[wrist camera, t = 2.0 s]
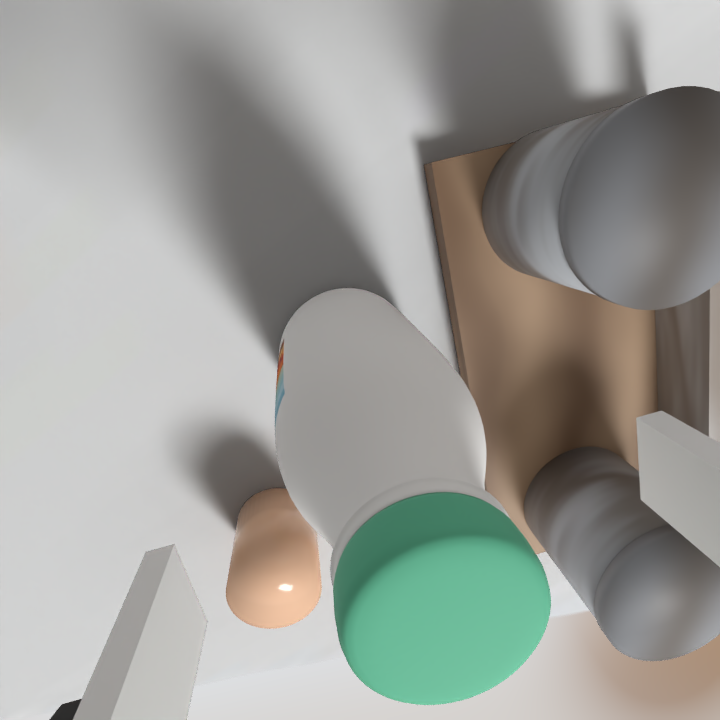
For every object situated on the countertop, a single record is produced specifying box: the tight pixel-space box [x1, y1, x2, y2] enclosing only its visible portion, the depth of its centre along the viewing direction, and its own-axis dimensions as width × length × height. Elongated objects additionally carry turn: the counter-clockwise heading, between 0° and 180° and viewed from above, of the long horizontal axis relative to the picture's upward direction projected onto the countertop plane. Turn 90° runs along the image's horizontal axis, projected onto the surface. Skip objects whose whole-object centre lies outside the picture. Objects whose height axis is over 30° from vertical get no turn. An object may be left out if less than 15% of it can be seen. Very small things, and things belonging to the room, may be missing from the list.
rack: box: [424, 86, 720, 661], centre depth 26 cm, size 13×27×10 cm, turn 13°
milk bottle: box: [275, 288, 551, 705], centre depth 19 cm, size 8×8×20 cm
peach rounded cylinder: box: [226, 488, 322, 629], centre depth 29 cm, size 5×5×6 cm
